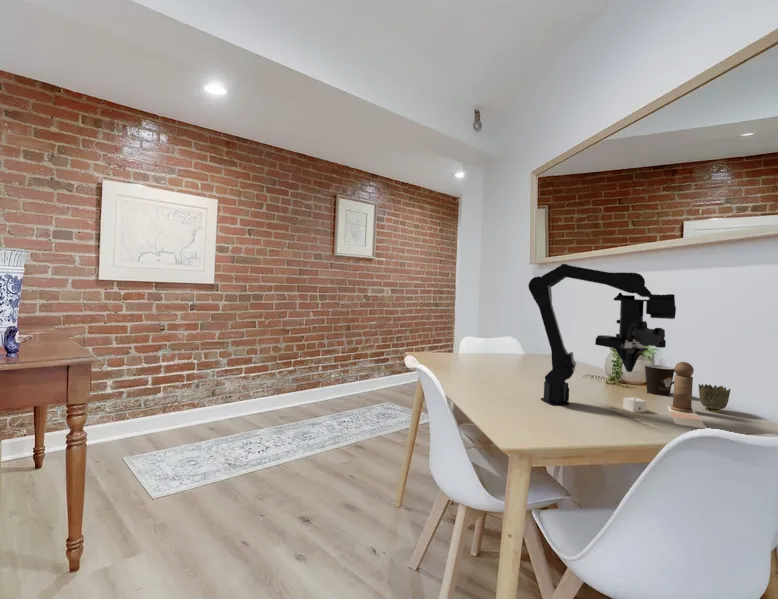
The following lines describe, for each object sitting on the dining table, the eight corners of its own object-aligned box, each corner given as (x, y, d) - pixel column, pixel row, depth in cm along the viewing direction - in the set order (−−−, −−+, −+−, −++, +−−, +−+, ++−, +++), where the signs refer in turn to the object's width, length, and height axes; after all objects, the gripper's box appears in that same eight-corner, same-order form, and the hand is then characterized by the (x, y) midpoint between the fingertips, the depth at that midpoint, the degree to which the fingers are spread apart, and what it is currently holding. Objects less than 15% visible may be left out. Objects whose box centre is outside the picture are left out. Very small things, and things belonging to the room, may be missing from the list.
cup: (734, 418, 119) (736, 390, 119) (705, 416, 121) (706, 388, 121) (719, 411, 127) (721, 384, 127) (692, 409, 128) (693, 382, 128)
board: (709, 432, 106) (710, 429, 106) (671, 426, 109) (671, 423, 109) (696, 412, 124) (696, 409, 124) (664, 408, 128) (664, 405, 128)
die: (633, 415, 119) (634, 401, 119) (623, 411, 123) (623, 397, 123) (645, 415, 120) (646, 401, 120) (635, 411, 124) (635, 397, 124)
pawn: (681, 413, 120) (684, 363, 119) (666, 407, 125) (669, 360, 125) (697, 412, 121) (700, 363, 120) (681, 407, 126) (684, 360, 125)
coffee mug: (648, 397, 141) (650, 367, 141) (639, 391, 149) (641, 363, 149) (688, 401, 138) (689, 370, 138) (676, 394, 147) (678, 366, 147)
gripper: (623, 318, 111) (621, 377, 111) (683, 319, 114) (681, 377, 115) (595, 315, 122) (593, 369, 122) (650, 317, 125) (648, 369, 126)
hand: (629, 371), depth 121 cm, fingers closed
